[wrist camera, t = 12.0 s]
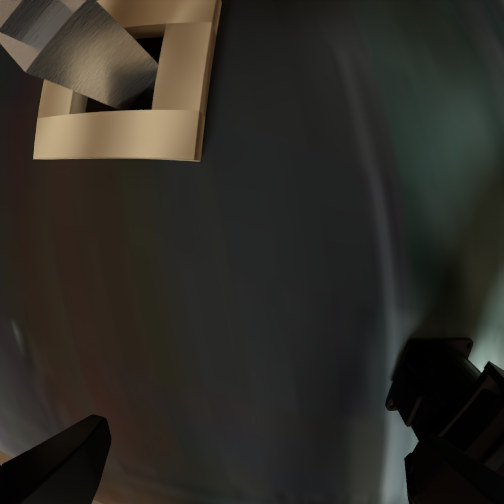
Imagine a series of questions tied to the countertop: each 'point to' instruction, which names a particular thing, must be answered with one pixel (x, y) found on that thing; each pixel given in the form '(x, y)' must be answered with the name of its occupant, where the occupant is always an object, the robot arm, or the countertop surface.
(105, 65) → the square bit
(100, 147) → the socket block
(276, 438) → the countertop surface
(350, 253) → the countertop surface
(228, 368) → the countertop surface
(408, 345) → the robot arm
